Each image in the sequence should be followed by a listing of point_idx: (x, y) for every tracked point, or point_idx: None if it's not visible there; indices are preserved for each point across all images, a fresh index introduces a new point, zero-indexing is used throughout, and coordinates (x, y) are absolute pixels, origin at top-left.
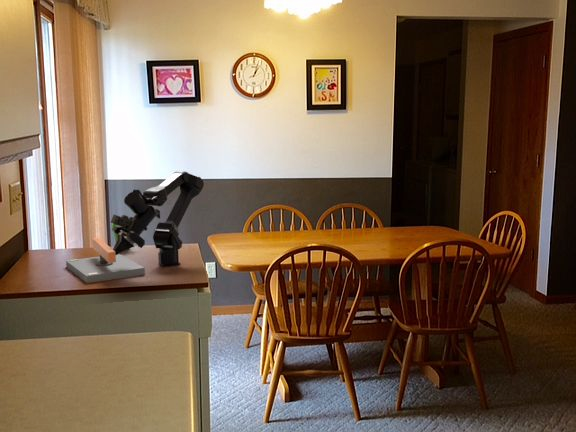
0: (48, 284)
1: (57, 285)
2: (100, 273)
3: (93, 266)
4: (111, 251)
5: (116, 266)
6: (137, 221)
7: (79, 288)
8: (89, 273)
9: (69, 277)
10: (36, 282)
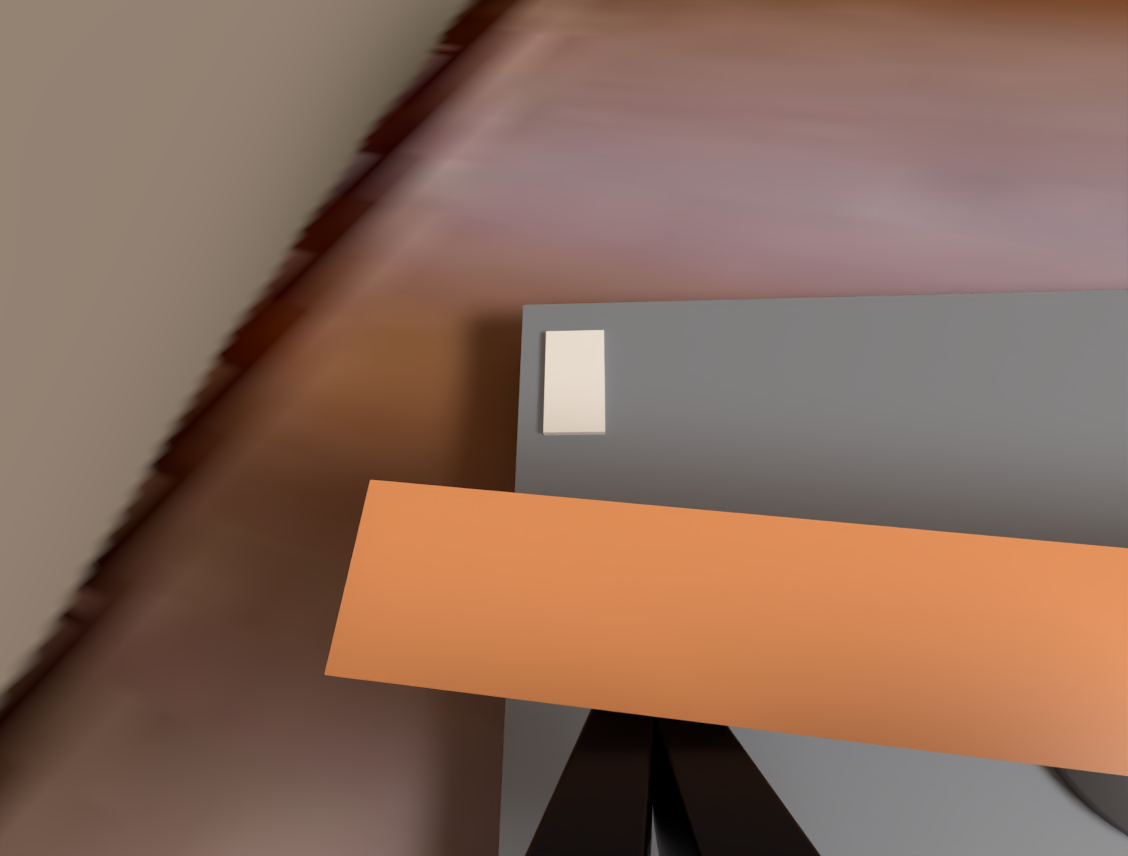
0: (697, 91)
1: (617, 137)
2: (550, 466)
3: (1040, 500)
4: (440, 594)
5: (881, 825)
6: None
7: (390, 255)
8: (604, 349)
9: (882, 262)
10: (823, 34)
